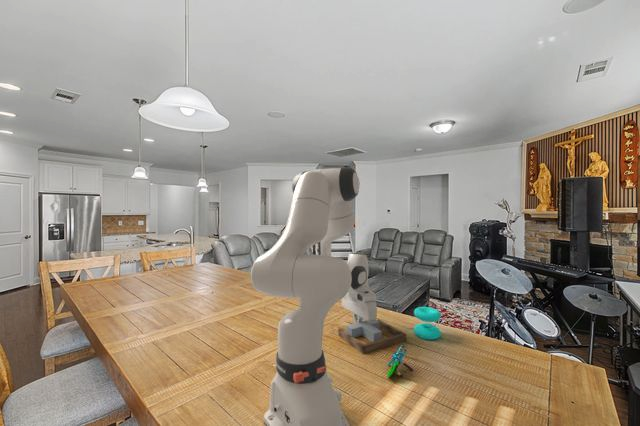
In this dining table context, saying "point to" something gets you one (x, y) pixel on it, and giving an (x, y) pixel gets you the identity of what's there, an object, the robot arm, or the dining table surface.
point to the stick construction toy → (397, 363)
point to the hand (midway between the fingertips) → (357, 324)
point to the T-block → (365, 330)
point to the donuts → (424, 328)
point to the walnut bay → (377, 344)
